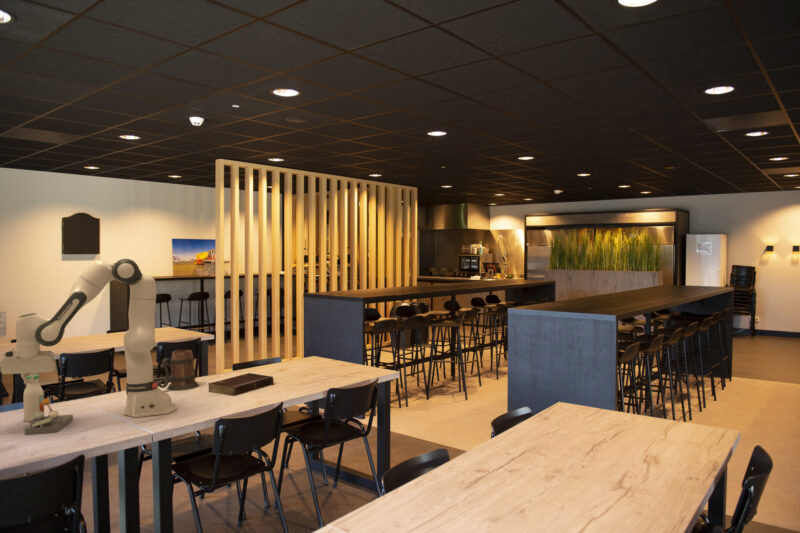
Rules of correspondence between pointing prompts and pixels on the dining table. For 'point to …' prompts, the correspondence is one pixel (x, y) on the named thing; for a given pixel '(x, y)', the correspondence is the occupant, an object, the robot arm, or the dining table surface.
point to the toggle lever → (47, 403)
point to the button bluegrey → (39, 415)
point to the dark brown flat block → (240, 384)
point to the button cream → (53, 414)
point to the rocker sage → (42, 422)
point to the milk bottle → (33, 399)
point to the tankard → (179, 371)
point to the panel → (49, 425)
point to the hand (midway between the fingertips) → (28, 383)
